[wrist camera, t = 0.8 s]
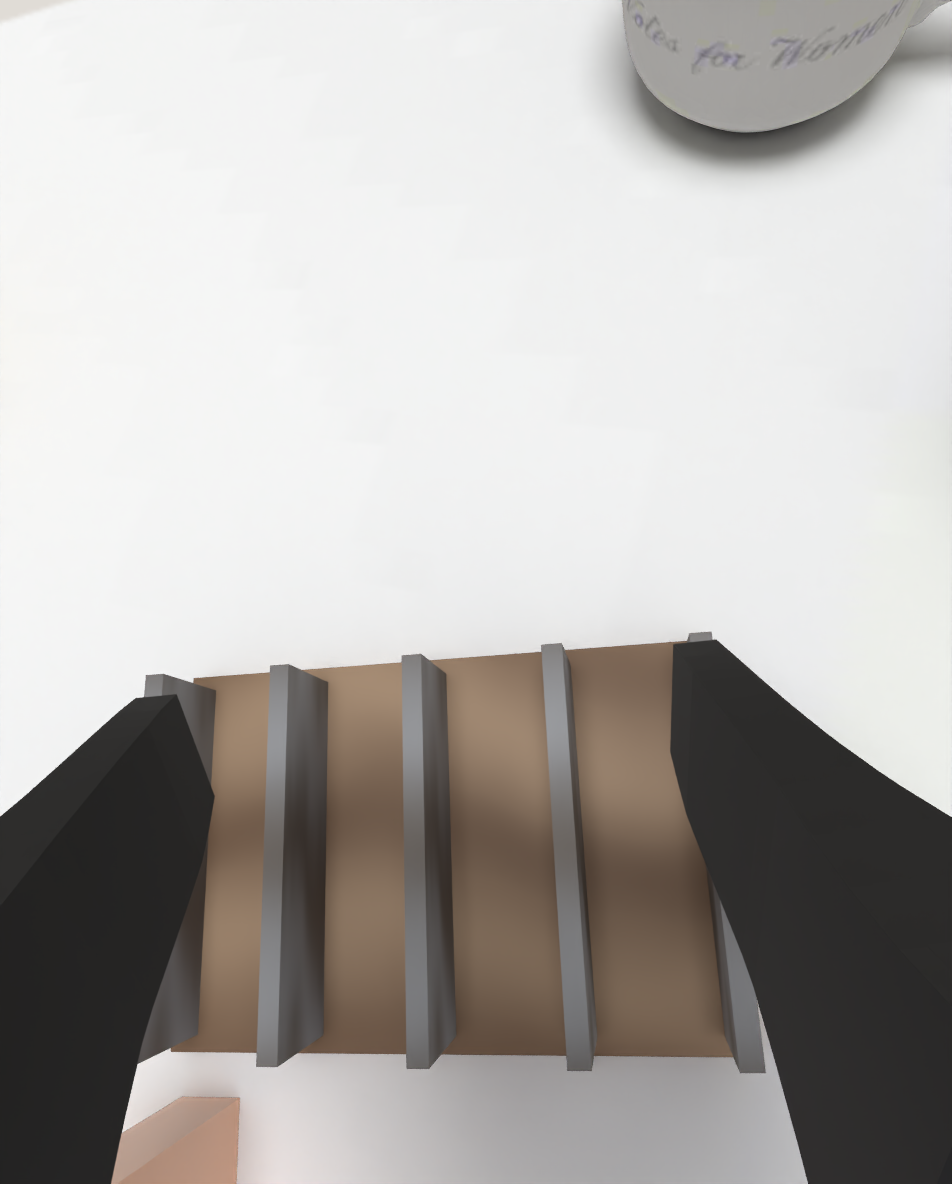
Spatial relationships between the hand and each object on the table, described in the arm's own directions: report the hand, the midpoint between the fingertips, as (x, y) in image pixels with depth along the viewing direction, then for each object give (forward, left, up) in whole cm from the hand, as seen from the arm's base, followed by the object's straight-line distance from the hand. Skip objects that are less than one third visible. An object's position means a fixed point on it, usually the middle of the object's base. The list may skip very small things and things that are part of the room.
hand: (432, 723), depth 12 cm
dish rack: (-2, +3, -16) cm, 16 cm away
